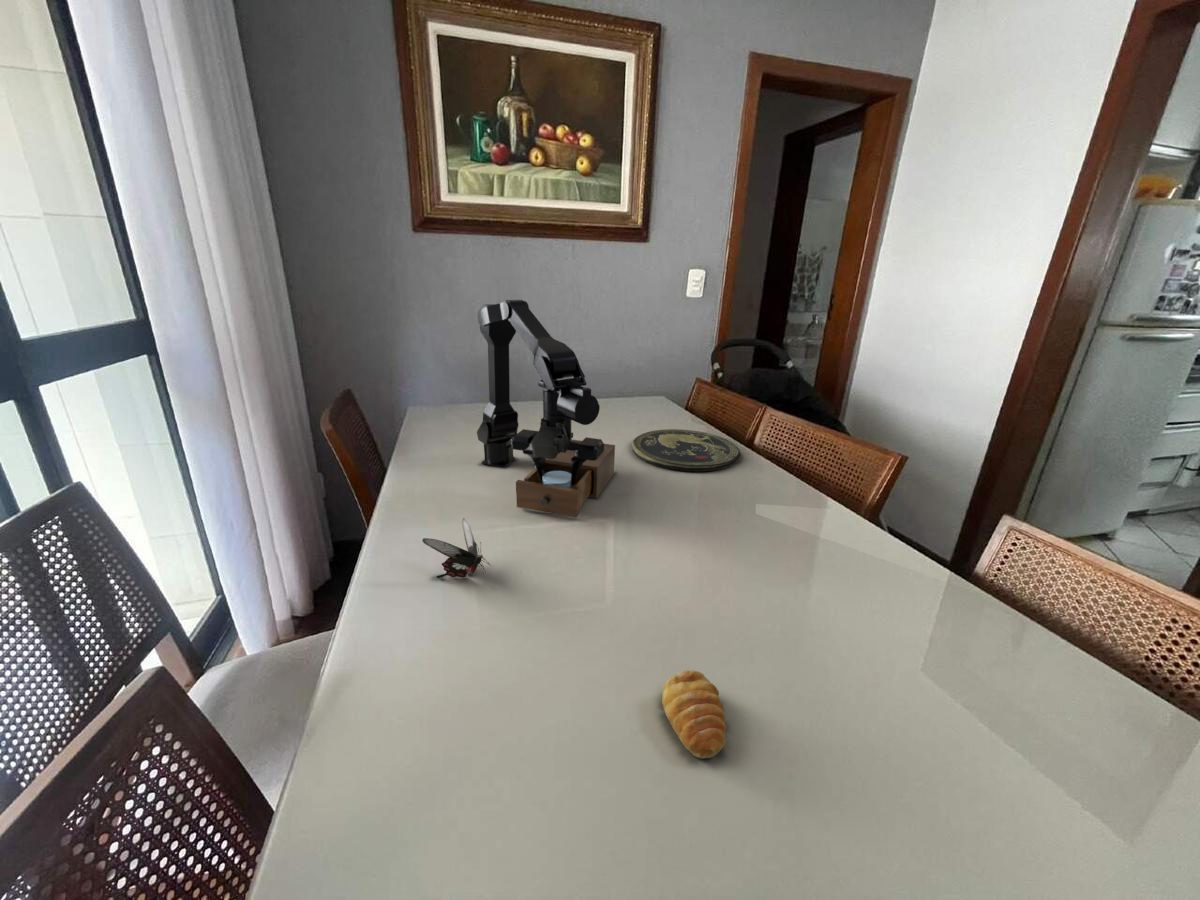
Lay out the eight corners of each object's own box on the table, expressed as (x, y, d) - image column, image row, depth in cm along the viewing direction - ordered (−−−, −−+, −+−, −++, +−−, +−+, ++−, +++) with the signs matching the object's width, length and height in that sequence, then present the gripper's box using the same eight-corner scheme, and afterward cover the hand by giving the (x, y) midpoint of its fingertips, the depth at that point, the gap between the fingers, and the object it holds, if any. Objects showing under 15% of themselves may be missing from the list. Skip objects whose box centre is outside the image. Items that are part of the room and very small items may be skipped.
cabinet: (596, 498, 108) (597, 467, 105) (536, 488, 112) (535, 458, 109) (614, 473, 121) (615, 445, 119) (559, 465, 125) (559, 437, 122)
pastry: (739, 758, 52) (744, 733, 51) (679, 767, 51) (682, 741, 50) (708, 687, 61) (712, 664, 59) (656, 693, 60) (658, 669, 58)
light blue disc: (537, 490, 102) (537, 480, 102) (549, 477, 108) (549, 468, 108) (566, 494, 101) (566, 485, 100) (577, 482, 107) (577, 473, 106)
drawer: (575, 520, 97) (575, 494, 95) (514, 509, 101) (513, 484, 98) (597, 490, 110) (597, 466, 108) (542, 481, 114) (542, 458, 112)
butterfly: (447, 598, 81) (416, 547, 82) (490, 570, 86) (460, 522, 86) (455, 593, 72) (420, 536, 73) (503, 562, 76) (469, 508, 77)
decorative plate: (750, 469, 121) (630, 461, 123) (749, 476, 122) (629, 468, 124) (731, 431, 149) (633, 426, 151) (730, 437, 150) (633, 431, 152)
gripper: (496, 417, 94) (500, 490, 99) (588, 429, 89) (587, 505, 95) (522, 403, 104) (524, 470, 109) (605, 412, 99) (603, 482, 104)
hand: (557, 481), depth 104 cm, fingers closed on light blue disc, 6 cm apart
